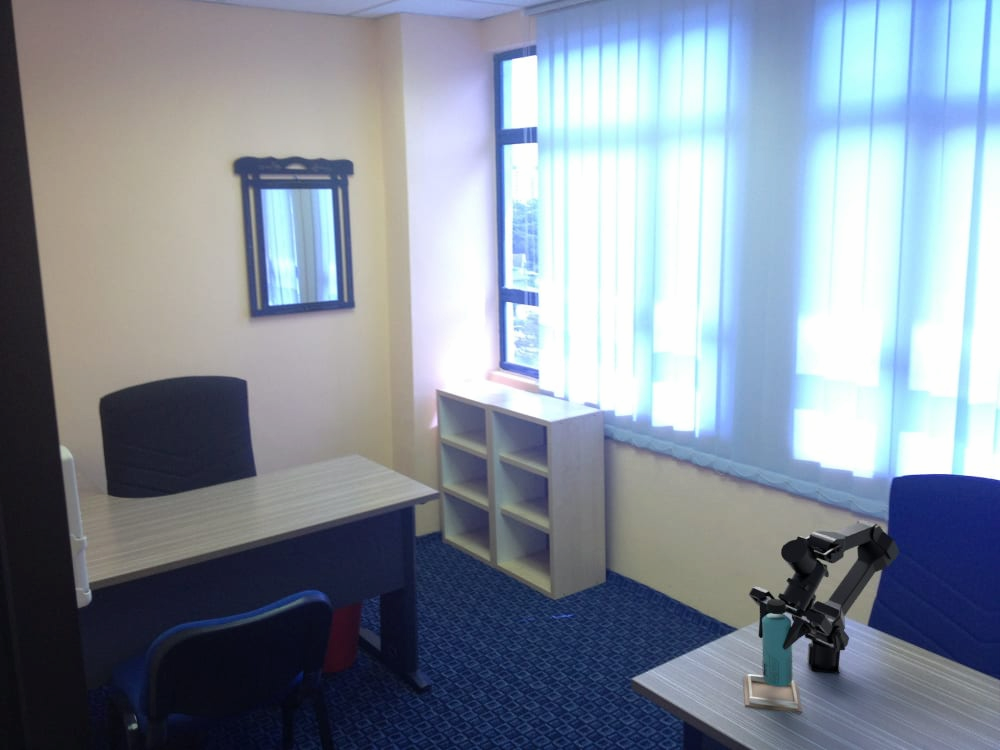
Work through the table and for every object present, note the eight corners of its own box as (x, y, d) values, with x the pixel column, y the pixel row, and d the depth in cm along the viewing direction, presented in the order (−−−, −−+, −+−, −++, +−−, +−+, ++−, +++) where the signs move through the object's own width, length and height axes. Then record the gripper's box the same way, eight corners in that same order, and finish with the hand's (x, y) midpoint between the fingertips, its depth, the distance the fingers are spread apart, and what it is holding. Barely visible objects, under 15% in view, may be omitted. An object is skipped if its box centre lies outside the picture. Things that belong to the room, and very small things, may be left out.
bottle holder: (797, 684, 208) (797, 677, 208) (802, 713, 197) (802, 706, 196) (743, 677, 211) (743, 671, 210) (745, 706, 199) (745, 699, 199)
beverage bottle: (799, 689, 201) (798, 603, 198) (774, 696, 198) (773, 609, 195) (780, 677, 207) (779, 593, 204) (755, 683, 204) (754, 599, 201)
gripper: (854, 614, 202) (822, 675, 198) (782, 585, 216) (751, 642, 212) (836, 591, 196) (803, 654, 191) (764, 563, 210) (731, 621, 206)
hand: (771, 643), depth 200 cm, fingers closed on beverage bottle, 6 cm apart
